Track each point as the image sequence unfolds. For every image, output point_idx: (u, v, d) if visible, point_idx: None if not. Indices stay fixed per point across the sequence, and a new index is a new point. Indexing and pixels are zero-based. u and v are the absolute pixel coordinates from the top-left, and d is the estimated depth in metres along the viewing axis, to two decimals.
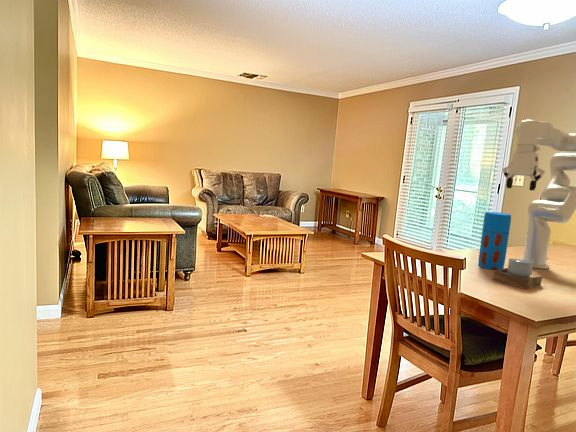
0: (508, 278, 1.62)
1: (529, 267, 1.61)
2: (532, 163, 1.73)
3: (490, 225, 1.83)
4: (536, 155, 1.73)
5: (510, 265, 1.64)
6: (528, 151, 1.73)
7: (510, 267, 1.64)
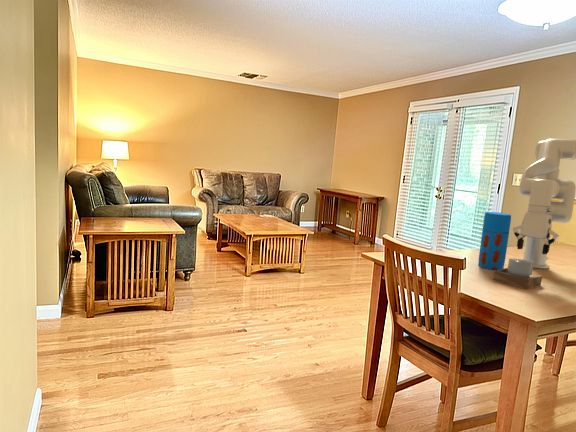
0: (508, 278, 1.62)
1: (529, 267, 1.61)
2: (545, 226, 1.62)
3: (490, 225, 1.83)
4: (549, 217, 1.63)
5: (510, 265, 1.64)
6: (541, 213, 1.62)
7: (510, 267, 1.64)
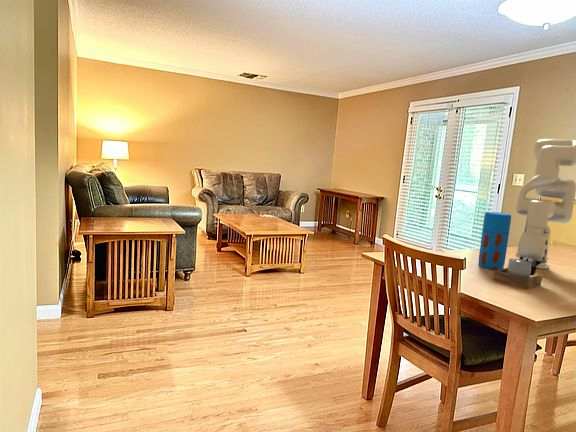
0: (508, 278, 1.62)
1: (529, 267, 1.61)
2: (542, 247, 1.64)
3: (490, 225, 1.83)
4: (546, 238, 1.64)
5: (510, 265, 1.64)
6: (538, 234, 1.64)
7: (510, 267, 1.64)
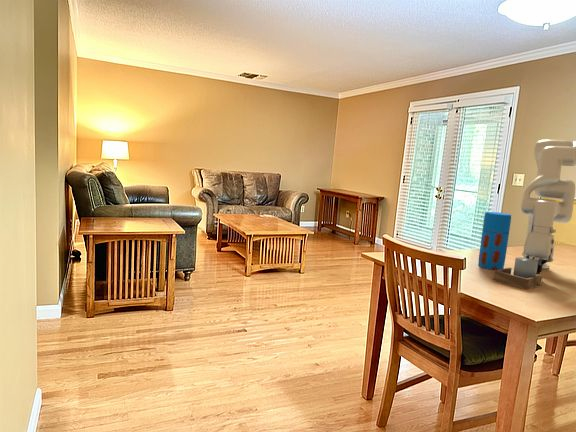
0: (508, 278, 1.62)
1: (535, 265, 1.64)
2: (548, 246, 1.67)
3: (490, 225, 1.83)
4: (552, 237, 1.67)
5: (517, 264, 1.67)
6: (544, 233, 1.67)
7: (517, 266, 1.67)
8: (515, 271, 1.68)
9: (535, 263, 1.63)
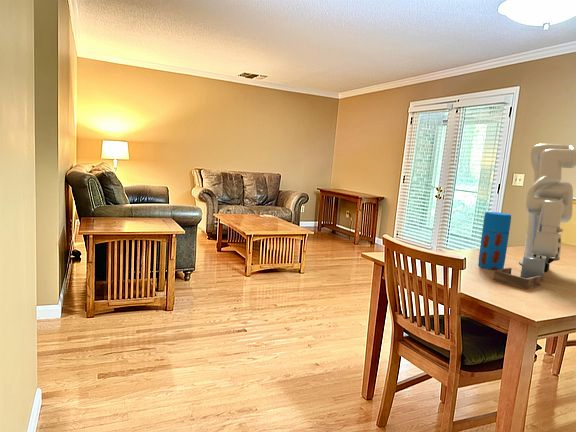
0: (508, 278, 1.62)
1: (543, 264, 1.67)
2: (555, 245, 1.70)
3: (490, 225, 1.83)
4: (559, 237, 1.71)
5: (524, 262, 1.71)
6: (551, 233, 1.71)
7: (525, 264, 1.70)
8: (523, 269, 1.71)
9: (543, 262, 1.67)
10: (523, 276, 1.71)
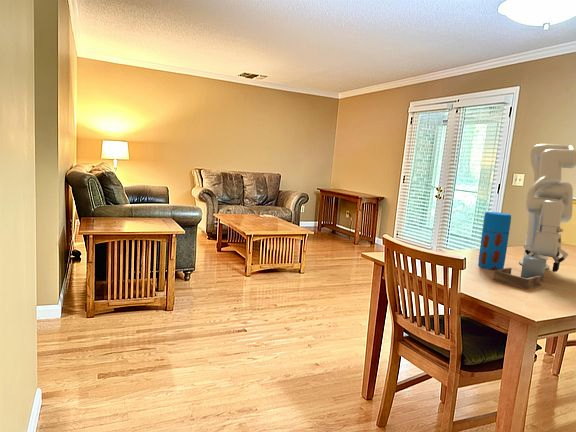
0: (508, 278, 1.62)
1: (543, 264, 1.68)
2: (555, 245, 1.70)
3: (490, 225, 1.83)
4: (559, 237, 1.71)
5: (525, 262, 1.71)
6: (551, 233, 1.71)
7: (525, 264, 1.70)
8: (523, 270, 1.71)
9: (543, 262, 1.67)
10: (523, 276, 1.71)
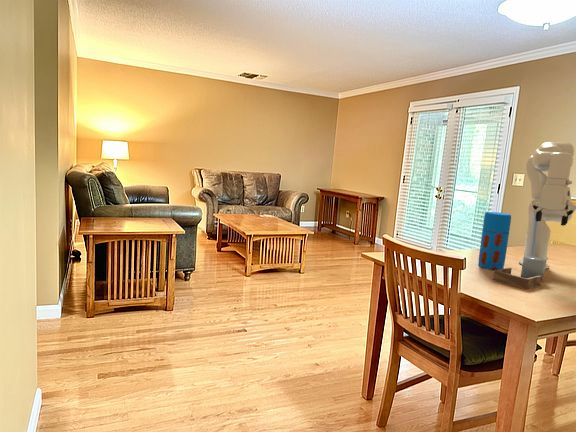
0: (508, 278, 1.62)
1: (543, 264, 1.68)
2: (564, 198, 1.67)
3: (490, 225, 1.83)
4: (568, 189, 1.67)
5: (525, 262, 1.71)
6: (560, 185, 1.67)
7: (525, 264, 1.70)
8: (523, 270, 1.71)
9: (543, 262, 1.67)
10: (523, 276, 1.71)
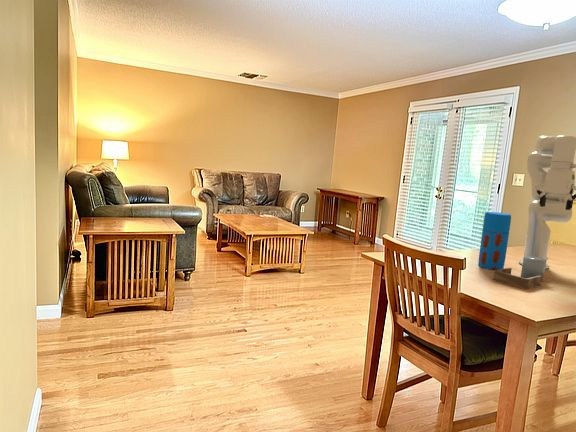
0: (508, 278, 1.62)
1: (543, 264, 1.68)
2: (569, 181, 1.64)
3: (490, 225, 1.83)
4: (573, 173, 1.64)
5: (525, 262, 1.71)
6: (564, 169, 1.64)
7: (525, 264, 1.70)
8: (523, 270, 1.71)
9: (543, 262, 1.67)
10: (523, 276, 1.71)
